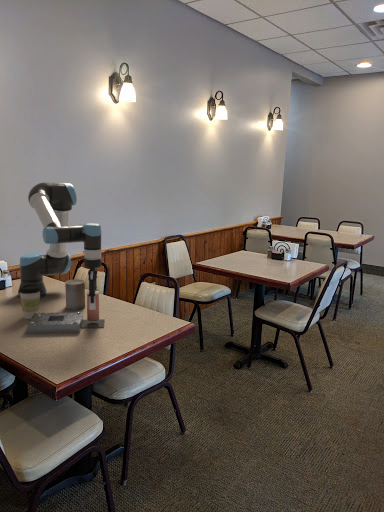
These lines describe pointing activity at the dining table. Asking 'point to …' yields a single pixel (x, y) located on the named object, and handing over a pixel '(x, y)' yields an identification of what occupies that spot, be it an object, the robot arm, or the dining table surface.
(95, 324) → the mat
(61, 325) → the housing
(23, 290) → the coffee cup
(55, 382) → the dining table surface
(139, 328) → the dining table surface
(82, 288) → the pillar candle
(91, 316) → the pink round peg
